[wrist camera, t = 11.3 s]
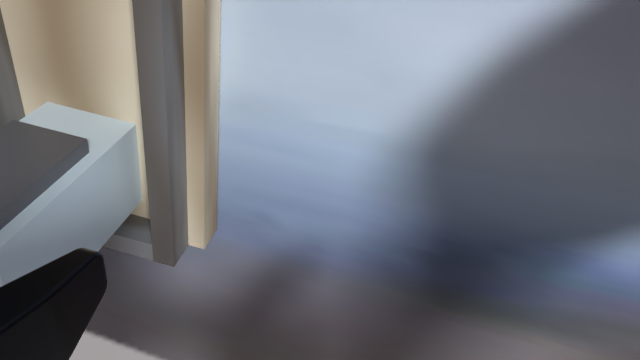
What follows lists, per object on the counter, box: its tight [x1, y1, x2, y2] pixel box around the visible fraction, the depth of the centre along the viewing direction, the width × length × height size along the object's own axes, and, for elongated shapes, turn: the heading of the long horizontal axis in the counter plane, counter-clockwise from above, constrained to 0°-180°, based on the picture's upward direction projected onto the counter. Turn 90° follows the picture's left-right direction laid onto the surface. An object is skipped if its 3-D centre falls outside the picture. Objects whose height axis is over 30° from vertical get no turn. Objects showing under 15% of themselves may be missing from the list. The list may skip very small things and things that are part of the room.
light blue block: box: [0, 102, 142, 287], centre depth 19 cm, size 5×4×8 cm
